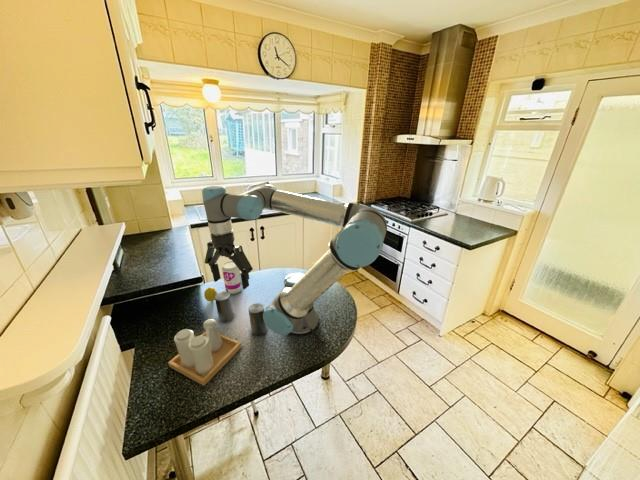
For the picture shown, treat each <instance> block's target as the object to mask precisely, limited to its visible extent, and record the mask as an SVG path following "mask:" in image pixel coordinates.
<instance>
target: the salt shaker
mask: <svg viewBox="0 0 640 480" xmlns="http://www.w3.org/2000/svg"><path fill="white" fill-rule="evenodd" d="M203 329H204V330H205V331H206V337H207V338H208V341H209V345H210V349H211V352H213V353H214V352H217V351H219V349H220V348H221V346H222V339H221V337H220V335H219V334H220V333H219V331H218V330H217V321H216V320H215V319H214V318H208V319H207V320H205V321H204V322H203Z"/></svg>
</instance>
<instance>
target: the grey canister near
mask: <svg viewBox="0 0 640 480" xmlns="http://www.w3.org/2000/svg"><path fill="white" fill-rule="evenodd" d="M264 311H265V306H264V304H262V303H261V302H260V303H258V302H257V303H253V304H251V305H250V306H249V307H248V317H249V323H250V329H251V335H254V336H256V337H261V336H264V335H265V334H266V332H267V326H266V324H265V322H264V320H263V313H264Z"/></svg>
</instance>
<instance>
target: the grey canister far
mask: <svg viewBox="0 0 640 480" xmlns="http://www.w3.org/2000/svg"><path fill="white" fill-rule="evenodd" d="M214 302H215V306H216V310H217V311H216V312H217V316H218V321H219V322H222V323H224V324H227V323H229V322H232V321H233V320H234V312H233V311H234V310H233V306H232V300H231V294H230V293H228V292H226V291H222V292H217V295H216V296H215V300H214Z"/></svg>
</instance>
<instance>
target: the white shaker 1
mask: <svg viewBox="0 0 640 480" xmlns="http://www.w3.org/2000/svg"><path fill="white" fill-rule="evenodd" d="M195 337H196V336H195V333H194V331H193V330H192V329H189V328H184V329H181V330H179V331H178V332H177V333H176V334H175V335H174V338H173V340H174V344H175V347H176V350H177V353H178V354H179V357H180V360H181V363H182V366H183V367H184V368H191V367H193V366H194V364H193V360H192V357H191V353H190V350H189V343H190V342H191V340H192V339H193V338H195ZM178 354H177V355H178Z"/></svg>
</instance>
